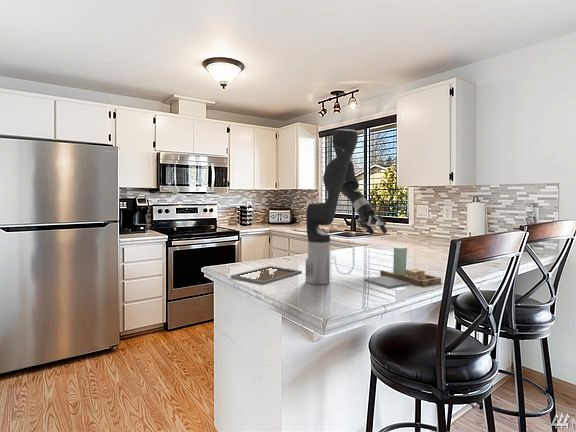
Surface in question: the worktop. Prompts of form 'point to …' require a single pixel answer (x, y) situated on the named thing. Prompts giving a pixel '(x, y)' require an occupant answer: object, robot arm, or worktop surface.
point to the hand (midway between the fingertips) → (379, 233)
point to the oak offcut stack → (416, 274)
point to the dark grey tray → (268, 275)
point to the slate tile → (387, 281)
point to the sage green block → (400, 261)
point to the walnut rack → (428, 280)
